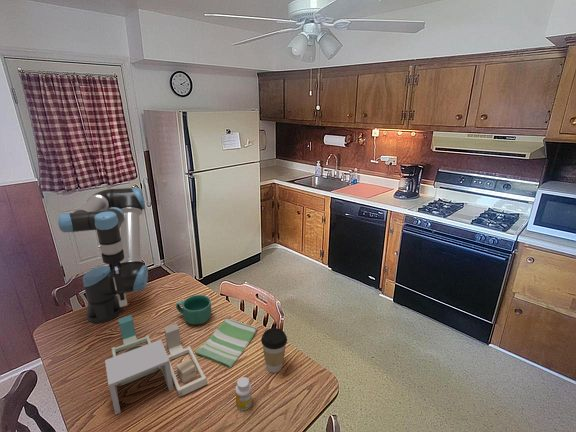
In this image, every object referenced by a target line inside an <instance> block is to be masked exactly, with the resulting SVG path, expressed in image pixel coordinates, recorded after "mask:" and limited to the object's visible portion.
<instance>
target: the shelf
mask: <svg viewBox="0 0 576 432" xmlns="http://www.w3.org/2000/svg"><path fill="white" fill-rule="evenodd" d="M122 353H123V352H122ZM122 353H121V354H118V355H117V354H116V356H115V357H113V356H112V357H110V358H107V359H105V360H104V364H105V370H106V376H107V383H108V384H107V385H108V388H109V393H110V397H111V402H112V405H113V409H114V413H115V415H119V414H121V412H122V411H121V405H120V400H119V394H118V390H117V385H118V384H119V383H121V382H124V381H126V380H129V379H131V378H133V377H136V376H138V375H141V374H143V373H146V372H148V371H150V370H153V369H155V368H158V367H159V368H160V369H161V371H162V375H163V377H164V380H165V382H166V386H167V388H168V391H171V390H174V384H173V383H174V382H173V379H172V376H171V369H170V363H171V361H170V360H169V358H168V354H167V351H166V349H165V346H164V344H163V341H162V339H159V340H156V341H153V342H151V343H150V344H148V343H147V344H145V345H144V346H142V347H139V348H137V349H134V350H131V351H128V352H126V353H123V354H122ZM169 361H170V362H169Z"/></svg>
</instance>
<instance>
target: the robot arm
mask: <svg viewBox="0 0 576 432" xmlns="http://www.w3.org/2000/svg"><path fill="white" fill-rule="evenodd" d="M145 209H146V203H145V198H144V194H143V191H142V189H141V188H140V187H125V188H108V189H103V190H101V191H97V192H96V193H94V194H92V195H91V196H89V197H88V198H87V200H86V202H85V203H84V204H82V205H81V206H80V207H78V208H77V209H76V210H74V211H73V212H70V213H69V212H67V213H62V214H60V215H59V217H58V218H57V219H58V220H57V221H58V222H57V223H58V228H59V230H60V231H61V232H62V233H75V232H76V233H77V232H88V231H96V235H97V239H98V243H99V245H97V248H99V249H100V252H101V258H102V259H101V260H102V263H104V264H107V265H99V266H96V267H93V268H91V269H89V270H87V272H86V273H84V275H83V276H82V282H83V284H82V286H83V288H84V292H85V296H86V299H87V307H86V311H85V312H86V314H85V315H86V319H87V321H88V322H90V323H92V324H100V323H101V324H102V323H105V322H110V321H112V320H113V319H115V318H117V317H119V316H120V314H121V313H123V310H124V307H125V306H128V301H127V294H126V293H132V292H140V291H143V290H145V289H146V287H147V284H148V280H149V279H148V278H149V267H148V266H147V265H145V262H144V261H143V260H142V259H141V257H142V256H141V235H140V234H141V232H140V228H141V227H140V224H141V223H140V216H141V215H142V214H143V210H145Z"/></svg>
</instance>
